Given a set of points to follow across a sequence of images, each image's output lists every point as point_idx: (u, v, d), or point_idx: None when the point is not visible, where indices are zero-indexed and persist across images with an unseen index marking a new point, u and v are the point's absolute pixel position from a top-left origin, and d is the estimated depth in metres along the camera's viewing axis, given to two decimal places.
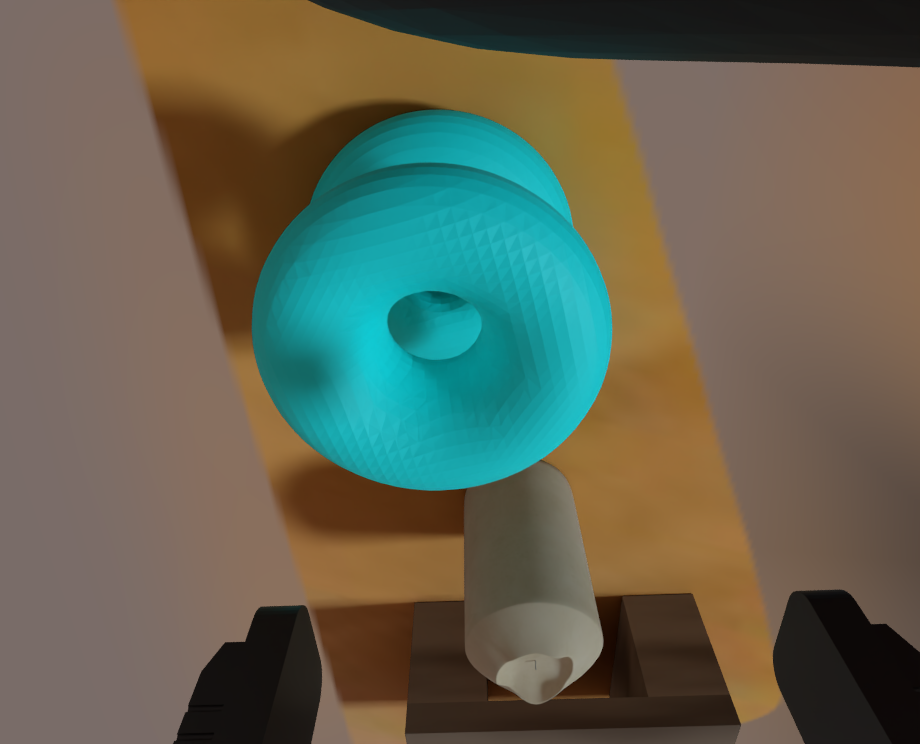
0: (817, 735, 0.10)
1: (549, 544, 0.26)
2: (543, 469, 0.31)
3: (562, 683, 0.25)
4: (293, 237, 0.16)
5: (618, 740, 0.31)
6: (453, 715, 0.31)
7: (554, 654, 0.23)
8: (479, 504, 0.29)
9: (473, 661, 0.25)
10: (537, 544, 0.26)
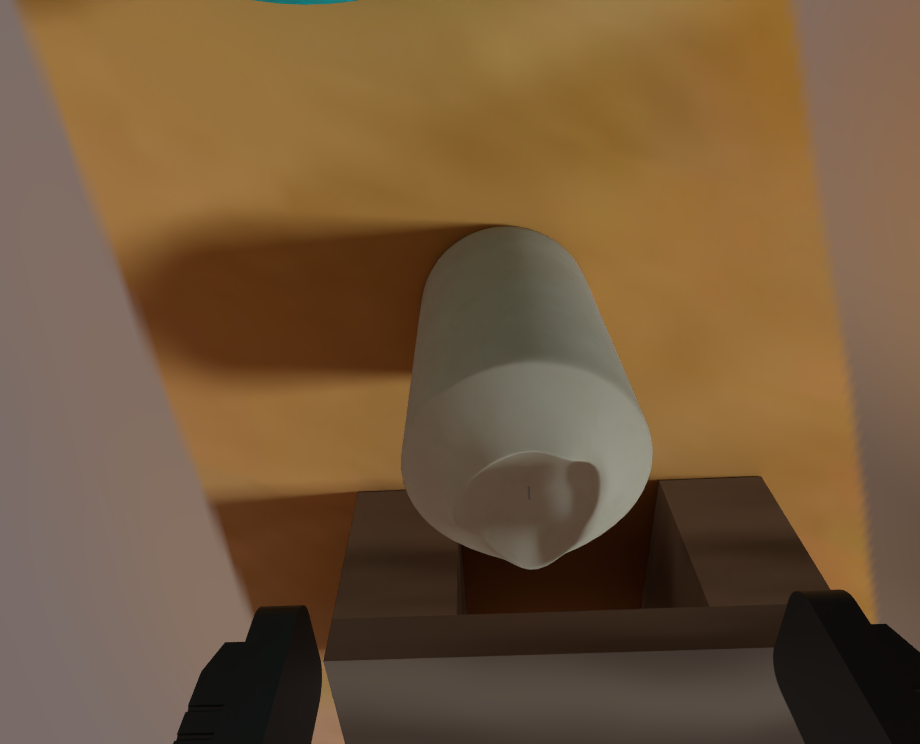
0: (817, 735, 0.10)
1: (553, 303, 0.15)
2: (542, 238, 0.19)
3: (578, 530, 0.13)
4: None
5: (664, 672, 0.19)
6: (402, 635, 0.20)
7: (564, 453, 0.12)
8: (439, 281, 0.18)
9: (416, 495, 0.14)
10: (532, 300, 0.15)
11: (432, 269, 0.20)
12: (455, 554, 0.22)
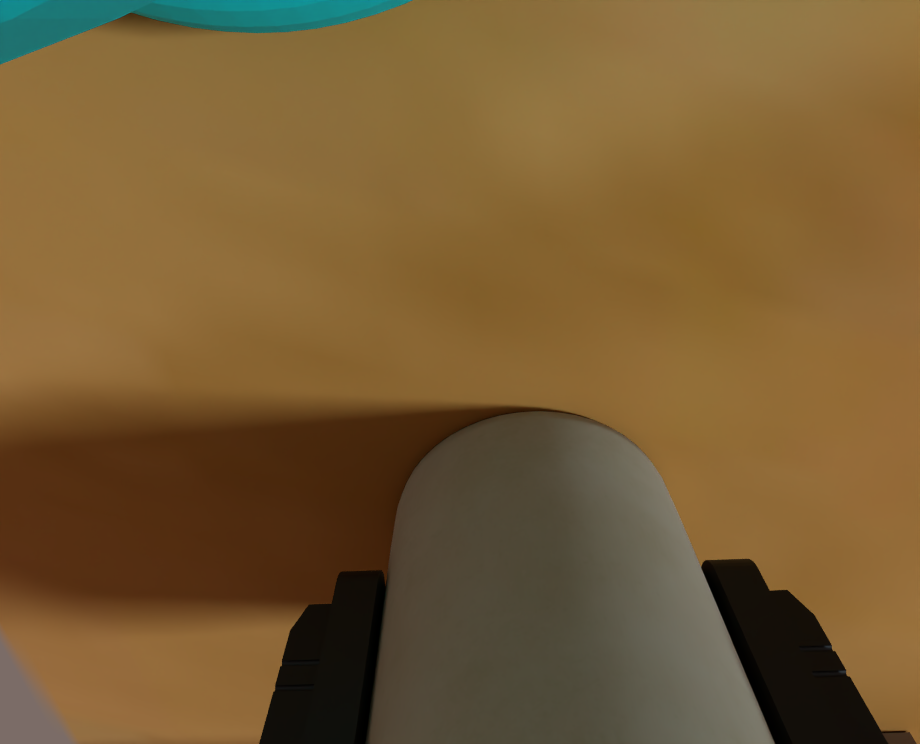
0: None
1: (664, 703, 0.07)
2: (602, 441, 0.11)
3: None
4: None
5: None
6: None
7: None
8: (420, 540, 0.10)
9: None
10: (620, 703, 0.07)
11: (412, 478, 0.12)
12: None
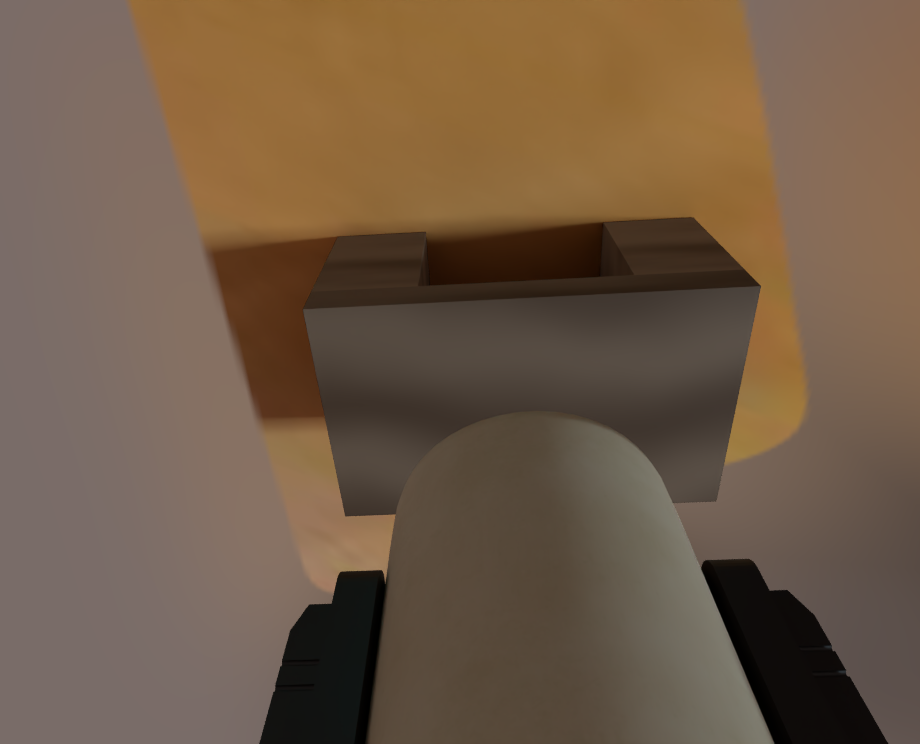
0: None
1: (662, 702, 0.07)
2: (602, 440, 0.11)
3: None
4: None
5: (593, 322, 0.23)
6: (370, 296, 0.23)
7: None
8: (419, 540, 0.10)
9: None
10: (618, 701, 0.07)
11: (411, 478, 0.12)
12: (420, 260, 0.26)
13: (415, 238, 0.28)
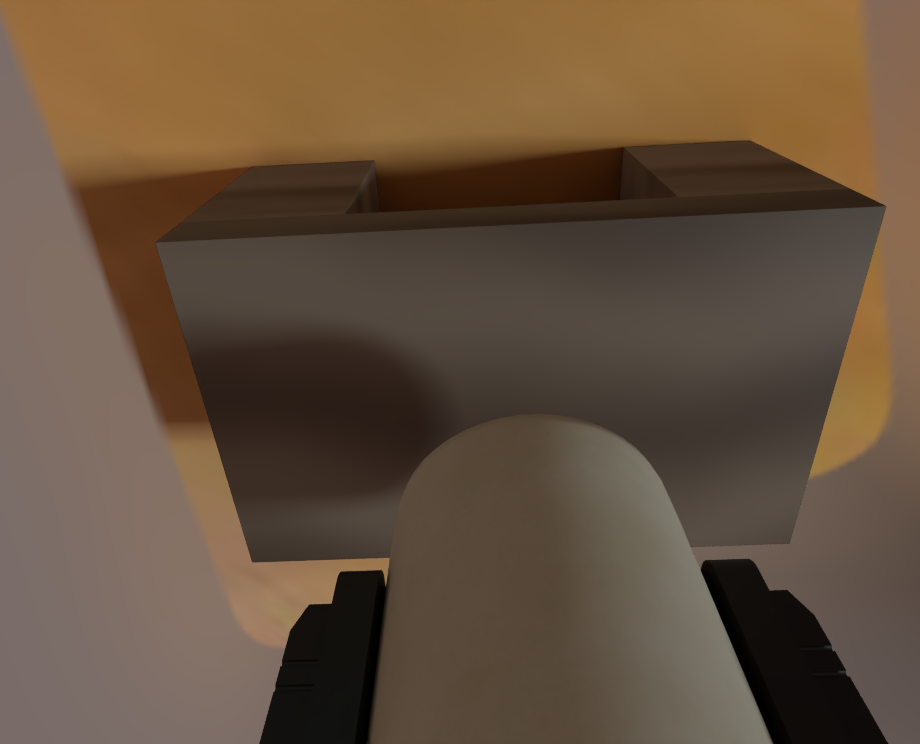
0: None
1: (663, 707, 0.07)
2: (601, 443, 0.11)
3: None
4: None
5: (617, 266, 0.14)
6: (268, 226, 0.15)
7: None
8: (421, 543, 0.10)
9: None
10: (620, 706, 0.07)
11: (412, 481, 0.12)
12: (357, 187, 0.18)
13: (358, 166, 0.20)
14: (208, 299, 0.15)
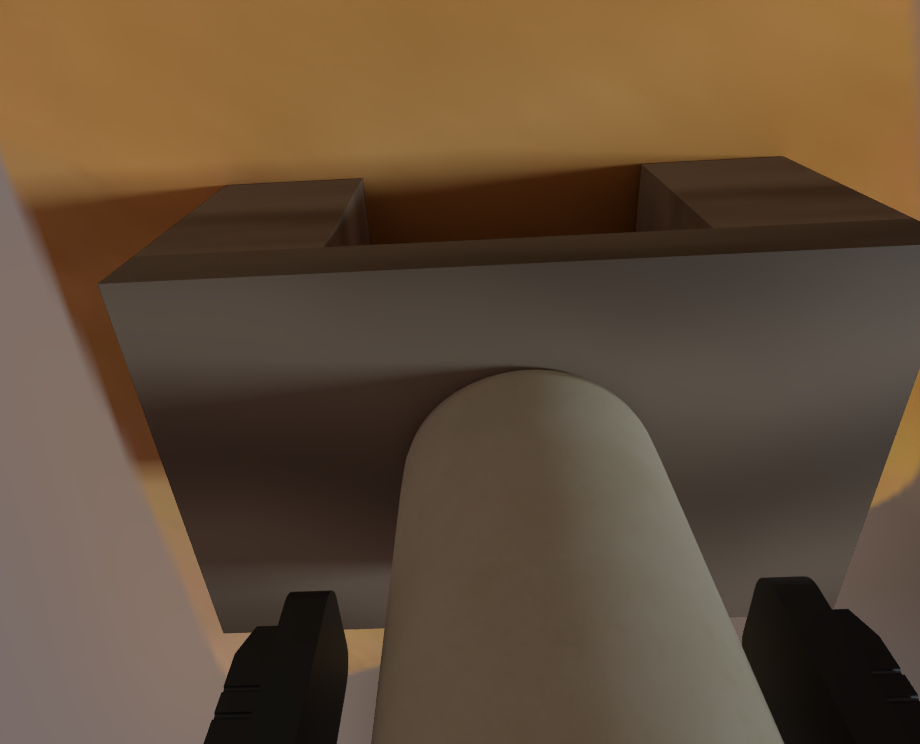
0: (781, 717, 0.10)
1: (645, 597, 0.08)
2: (594, 395, 0.12)
3: None
4: None
5: (642, 311, 0.12)
6: (233, 262, 0.13)
7: None
8: (430, 478, 0.11)
9: None
10: (607, 595, 0.08)
11: (420, 430, 0.13)
12: (340, 212, 0.15)
13: (344, 185, 0.18)
14: (162, 348, 0.13)
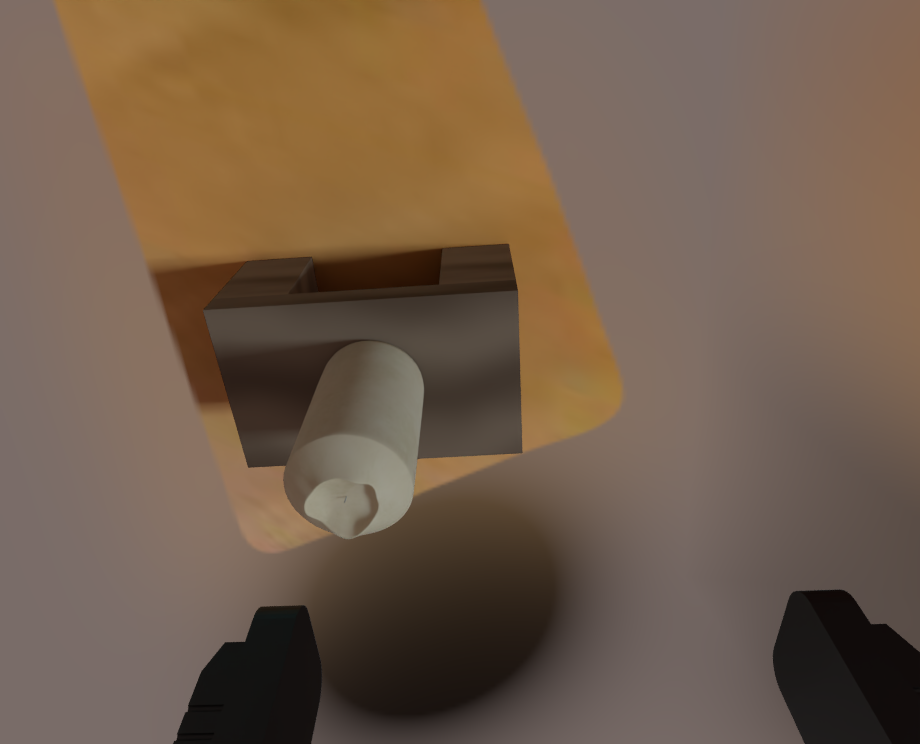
0: (817, 735, 0.10)
1: (371, 397, 0.28)
2: (389, 349, 0.32)
3: (371, 519, 0.26)
4: None
5: (406, 317, 0.32)
6: (252, 301, 0.33)
7: (354, 479, 0.25)
8: (323, 377, 0.31)
9: (291, 500, 0.27)
10: (360, 396, 0.28)
11: None
12: (297, 277, 0.36)
13: (302, 261, 0.38)
14: (225, 334, 0.33)
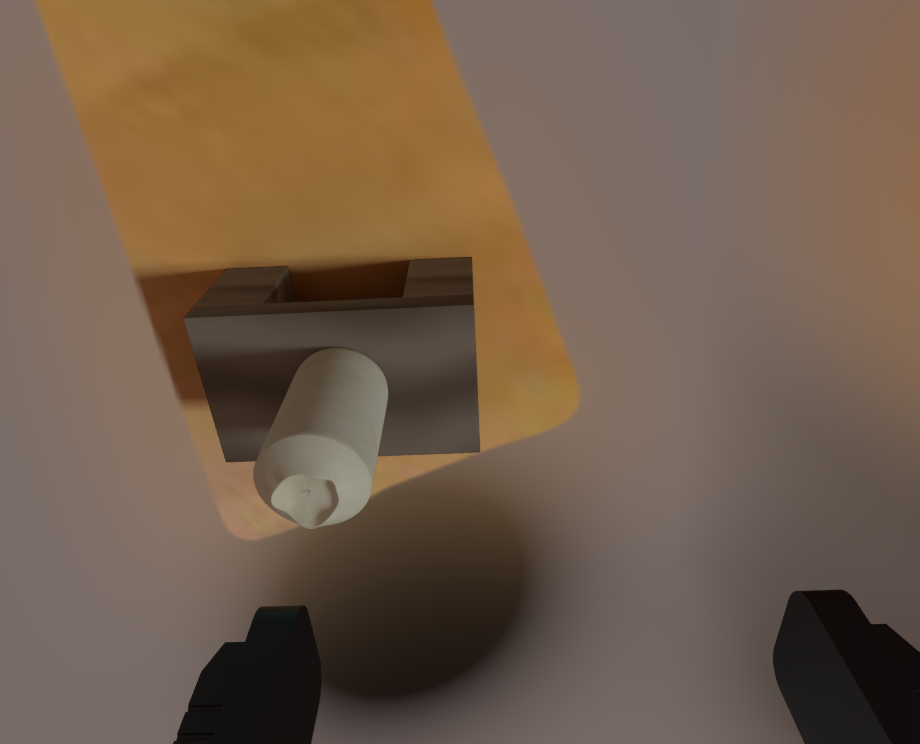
0: (817, 735, 0.10)
1: (335, 401, 0.31)
2: (355, 356, 0.35)
3: (332, 511, 0.29)
4: None
5: (371, 327, 0.35)
6: (229, 310, 0.36)
7: (316, 475, 0.28)
8: (294, 380, 0.34)
9: (260, 493, 0.30)
10: (325, 400, 0.31)
11: None
12: (272, 286, 0.38)
13: (278, 270, 0.41)
14: (204, 340, 0.36)
